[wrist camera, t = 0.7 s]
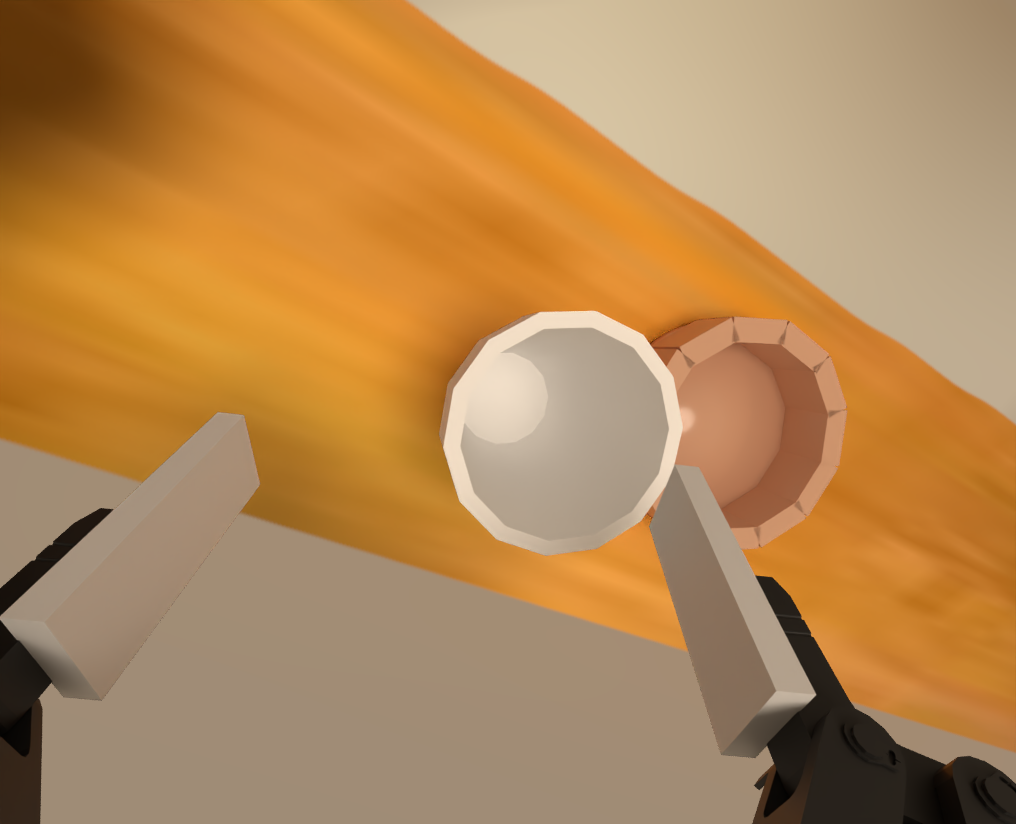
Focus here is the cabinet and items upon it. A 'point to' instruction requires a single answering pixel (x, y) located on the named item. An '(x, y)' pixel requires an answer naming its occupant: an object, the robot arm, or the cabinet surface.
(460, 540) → the cabinet surface
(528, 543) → the foam cup
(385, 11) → the cabinet surface
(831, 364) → the bowl
